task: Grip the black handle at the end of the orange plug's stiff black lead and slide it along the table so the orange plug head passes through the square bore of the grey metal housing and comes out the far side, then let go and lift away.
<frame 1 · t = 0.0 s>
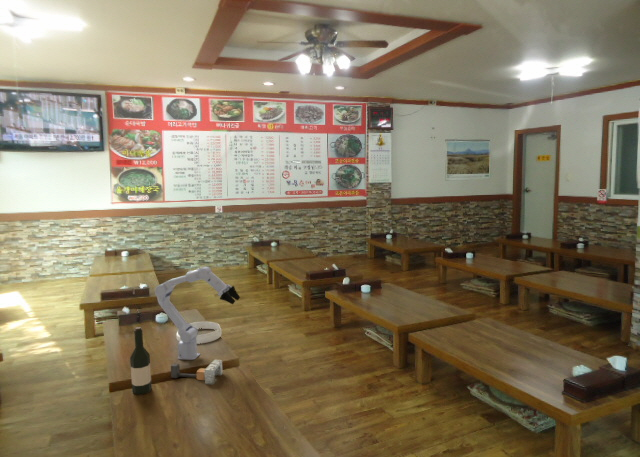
hand: (236, 300, 239), 32 cm above the table, tool tilted 50°, fingers open, 7 cm apart
housing: (214, 378, 220), on the table
plug: (202, 378, 221), on the table
white ring: (199, 336, 280), on the table
wine bottle: (142, 390, 209), on the table
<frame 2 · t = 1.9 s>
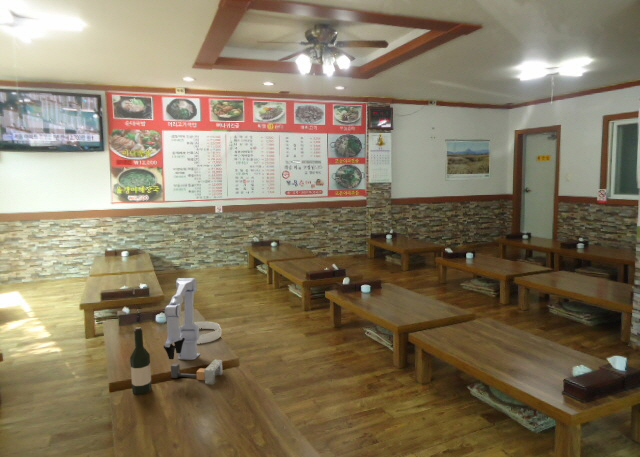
hand: (175, 356, 222), 11 cm above the table, tool pointing down, fingers open, 7 cm apart
nothing on the table moved.
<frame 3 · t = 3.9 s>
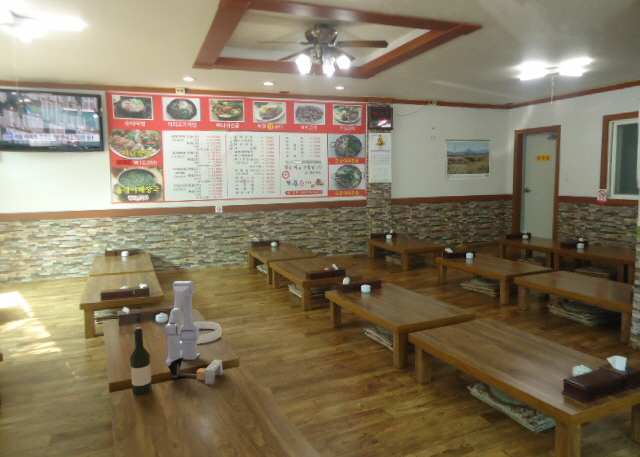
hand: (175, 373, 223), 1 cm above the table, tool pointing down, fingers closed on plug, 3 cm apart
plug: (202, 377, 221), on the table, touching gripper
everything else where it was.
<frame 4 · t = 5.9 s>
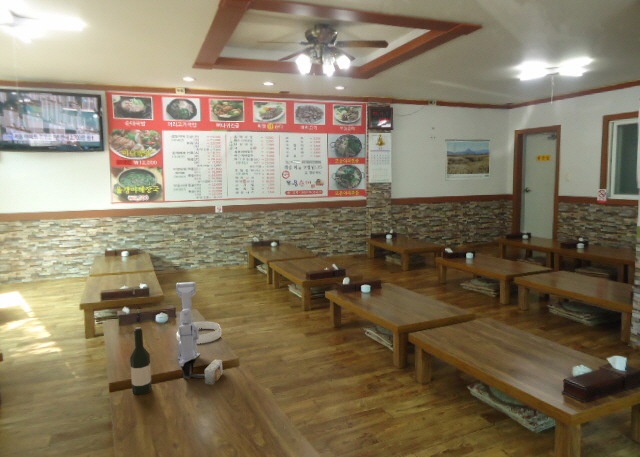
hand: (188, 374, 222), 1 cm above the table, tool pointing down, fingers closed on plug, 3 cm apart
plug: (214, 378, 219), on the table, touching gripper
everything else where it was.
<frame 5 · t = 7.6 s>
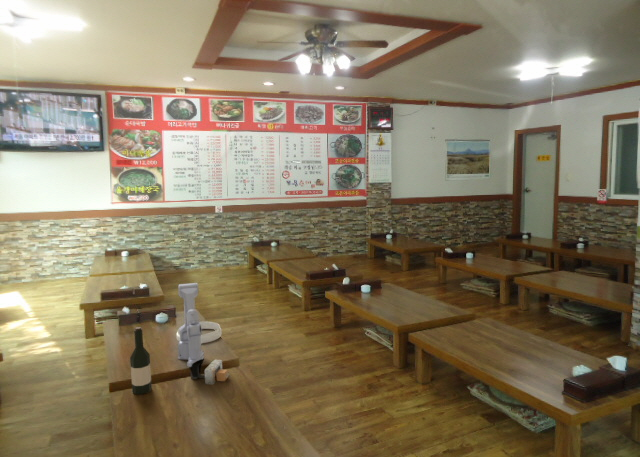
hand: (196, 374, 221), 1 cm above the table, tool pointing down, fingers closed on plug, 3 cm apart
plug: (222, 379, 219), on the table, touching gripper
everything else where it was.
when the fingers open (1 cm above the table, at t = 8.2 s): plug stays where it is, on the table.
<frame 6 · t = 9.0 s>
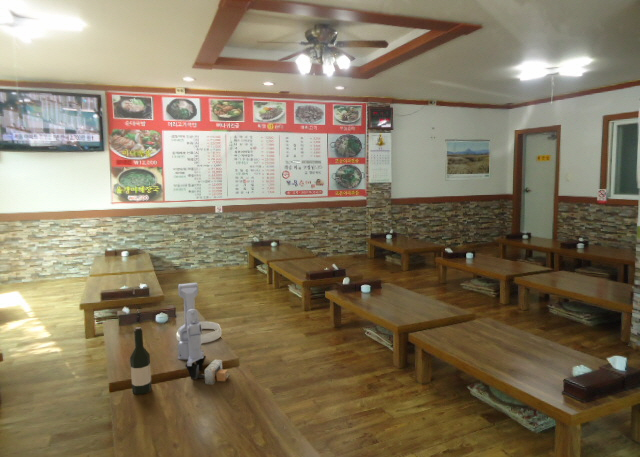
hand: (196, 374, 221), 2 cm above the table, tool pointing down, fingers open, 7 cm apart
plug: (222, 379, 219), on the table
everything else where it was.
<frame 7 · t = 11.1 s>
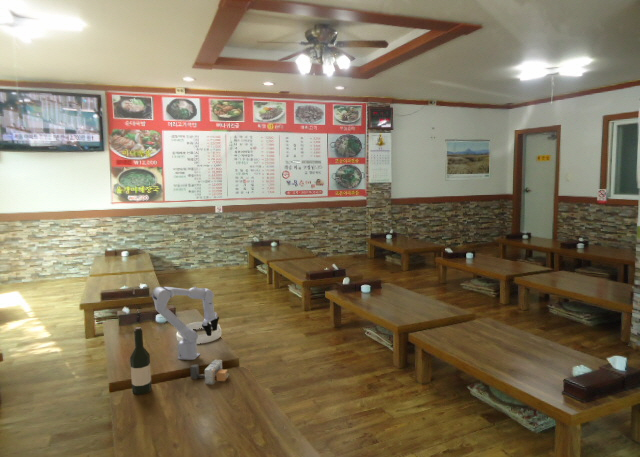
hand: (212, 332, 254), 11 cm above the table, tool pointing down, fingers open, 7 cm apart
nothing on the table moved.
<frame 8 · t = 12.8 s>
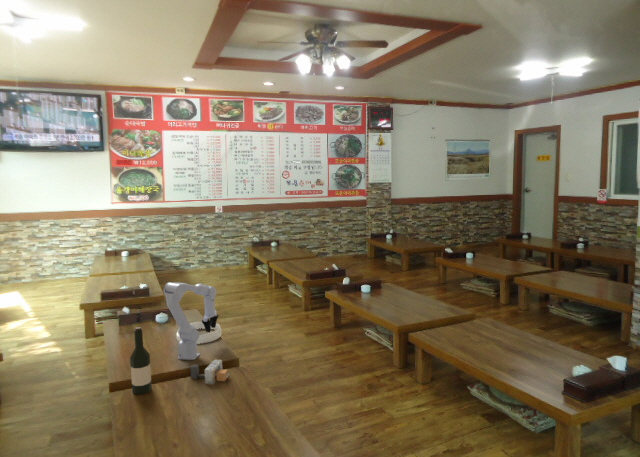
hand: (210, 329, 259), 10 cm above the table, tool pointing down, fingers open, 7 cm apart
nothing on the table moved.
at the end: plug 2.4 cm from the target spot, on the table; the gripper is holding nothing; plug tilted 0° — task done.
